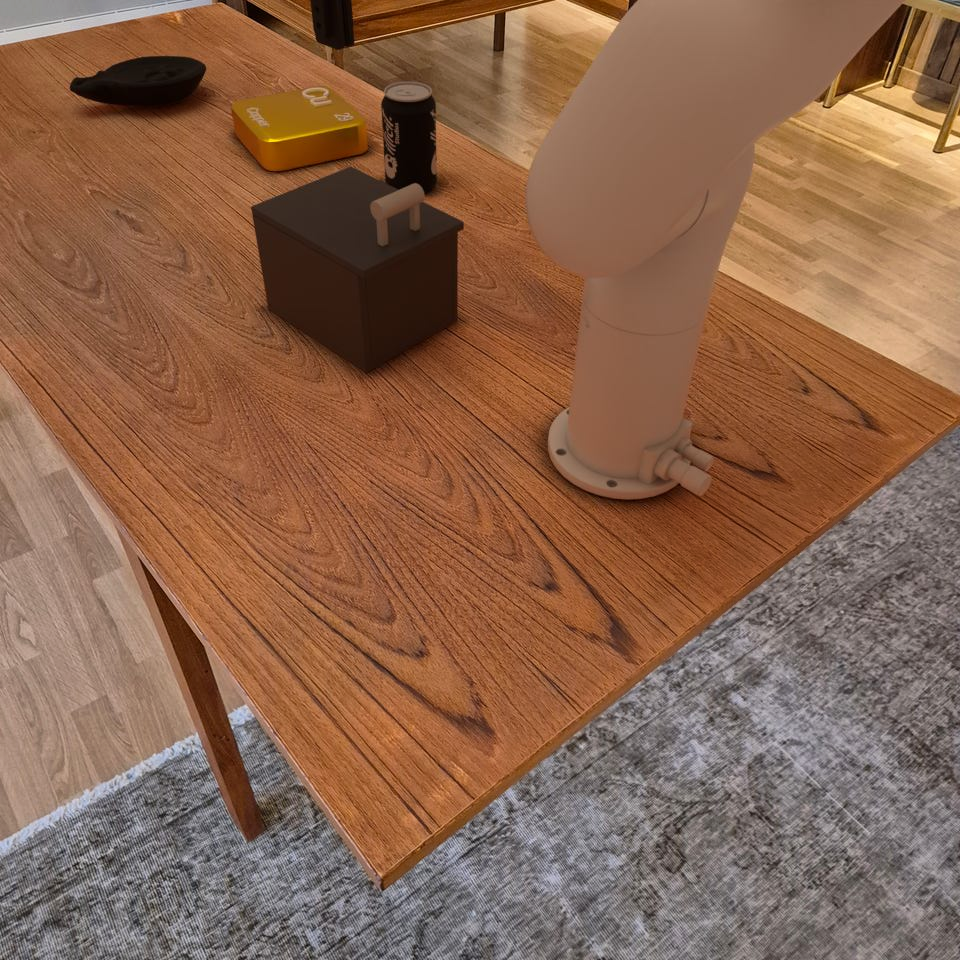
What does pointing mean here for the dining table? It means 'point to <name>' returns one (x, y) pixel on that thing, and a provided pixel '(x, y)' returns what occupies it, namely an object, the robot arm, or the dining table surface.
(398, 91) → the beverage can
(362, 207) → the lid
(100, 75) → the oil lamp
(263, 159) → the element tile
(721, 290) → the dining table surface
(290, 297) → the dark open storage box
